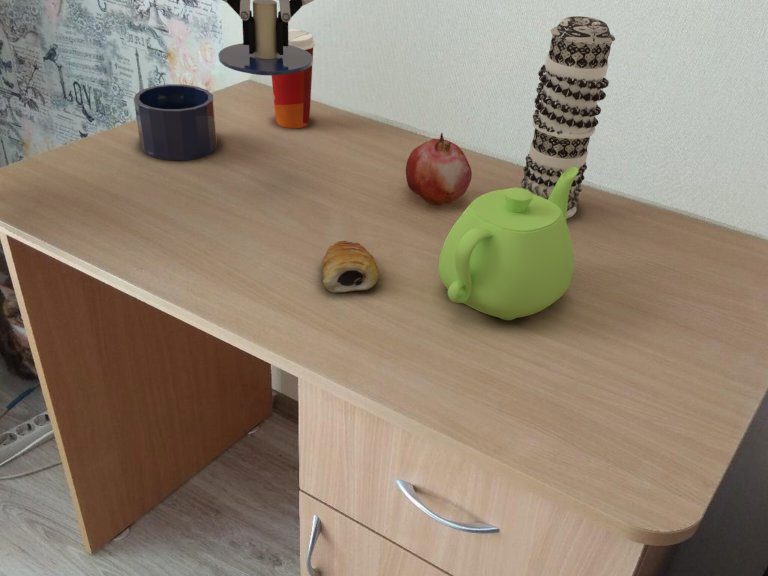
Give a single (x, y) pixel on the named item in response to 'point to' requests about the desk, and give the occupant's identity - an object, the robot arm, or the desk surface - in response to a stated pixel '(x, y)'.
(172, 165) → the desk surface
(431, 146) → the fruit
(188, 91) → the dark blue round pot
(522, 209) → the teapot
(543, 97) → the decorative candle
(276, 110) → the paper cup
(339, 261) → the pastry
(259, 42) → the lid
